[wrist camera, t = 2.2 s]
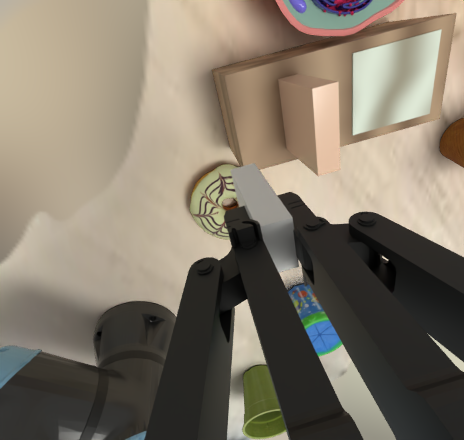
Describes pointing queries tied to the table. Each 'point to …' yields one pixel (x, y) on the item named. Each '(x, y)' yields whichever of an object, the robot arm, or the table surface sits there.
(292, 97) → the tile
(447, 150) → the disposable coffee cup
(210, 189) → the decorated donut
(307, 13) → the cell model
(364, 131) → the block
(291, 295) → the snack cup
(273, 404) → the plant pot
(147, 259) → the table surface
